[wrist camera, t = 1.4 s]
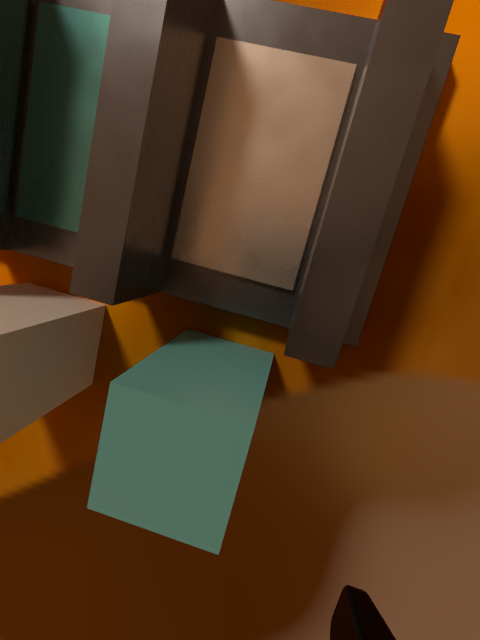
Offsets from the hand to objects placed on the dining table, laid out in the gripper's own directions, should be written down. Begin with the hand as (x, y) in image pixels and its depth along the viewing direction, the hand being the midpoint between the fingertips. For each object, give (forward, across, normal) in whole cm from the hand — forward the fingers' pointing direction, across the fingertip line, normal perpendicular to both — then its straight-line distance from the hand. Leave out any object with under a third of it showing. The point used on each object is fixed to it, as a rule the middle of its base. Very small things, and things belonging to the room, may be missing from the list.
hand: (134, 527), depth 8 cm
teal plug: (+9, 0, 0) cm, 9 cm away
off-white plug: (+9, +8, 0) cm, 12 cm away
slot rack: (+9, +4, -9) cm, 13 cm away
